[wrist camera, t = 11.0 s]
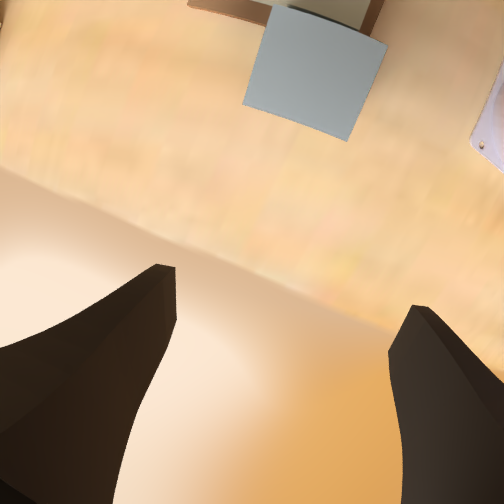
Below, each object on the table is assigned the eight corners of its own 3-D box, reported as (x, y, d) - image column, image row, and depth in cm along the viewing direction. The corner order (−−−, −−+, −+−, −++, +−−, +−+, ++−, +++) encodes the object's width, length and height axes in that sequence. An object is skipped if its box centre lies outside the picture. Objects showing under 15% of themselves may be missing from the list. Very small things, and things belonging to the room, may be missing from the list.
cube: (370, 41, 12) (388, 45, 9) (340, 114, 15) (346, 141, 12) (285, 10, 12) (273, 3, 9) (261, 85, 15) (242, 104, 12)
